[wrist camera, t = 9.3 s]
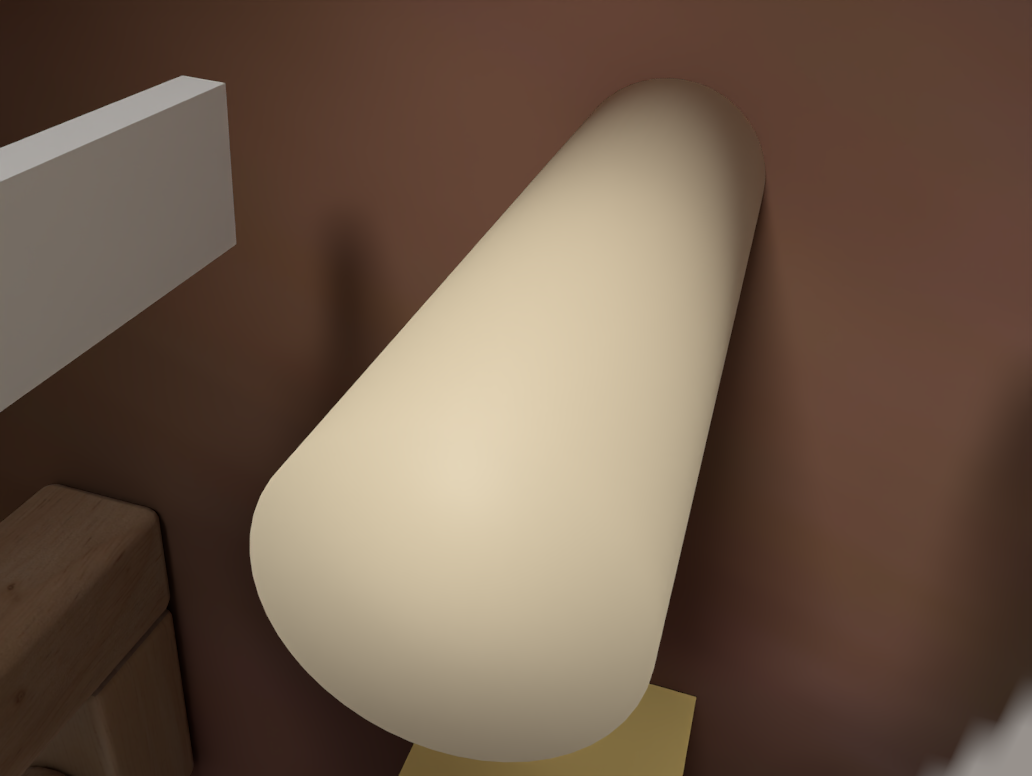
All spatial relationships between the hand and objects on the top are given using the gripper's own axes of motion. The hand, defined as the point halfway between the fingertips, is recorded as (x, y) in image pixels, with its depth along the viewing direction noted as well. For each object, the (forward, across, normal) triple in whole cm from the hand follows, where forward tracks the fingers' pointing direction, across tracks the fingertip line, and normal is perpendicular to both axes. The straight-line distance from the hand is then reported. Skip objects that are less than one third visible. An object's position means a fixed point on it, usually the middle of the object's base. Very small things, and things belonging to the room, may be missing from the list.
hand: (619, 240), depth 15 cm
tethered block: (+4, 0, -9) cm, 10 cm away
